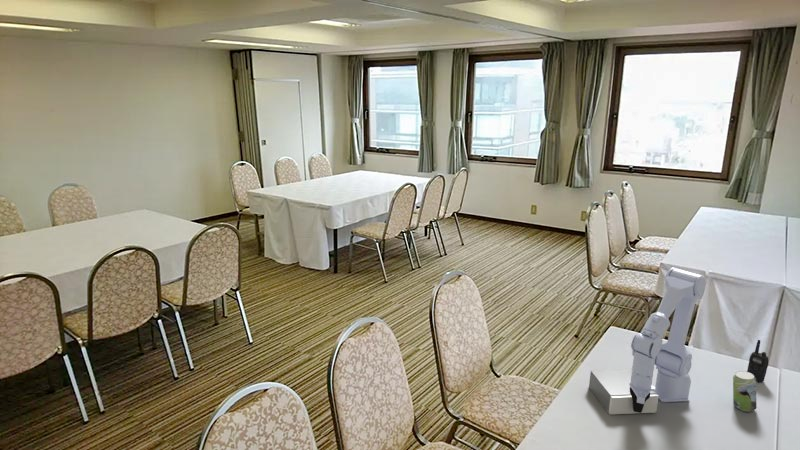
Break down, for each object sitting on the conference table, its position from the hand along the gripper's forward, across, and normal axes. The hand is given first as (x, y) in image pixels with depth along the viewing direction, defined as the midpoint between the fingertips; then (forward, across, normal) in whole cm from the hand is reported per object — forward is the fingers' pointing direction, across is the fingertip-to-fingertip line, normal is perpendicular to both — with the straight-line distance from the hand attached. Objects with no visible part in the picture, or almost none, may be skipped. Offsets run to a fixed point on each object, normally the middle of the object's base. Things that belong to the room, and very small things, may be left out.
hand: (637, 410), depth 149 cm
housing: (+2, +8, +5) cm, 10 cm away
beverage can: (+3, +19, -31) cm, 36 cm away
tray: (+2, +7, +4) cm, 8 cm away
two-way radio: (+3, +41, -39) cm, 56 cm away
